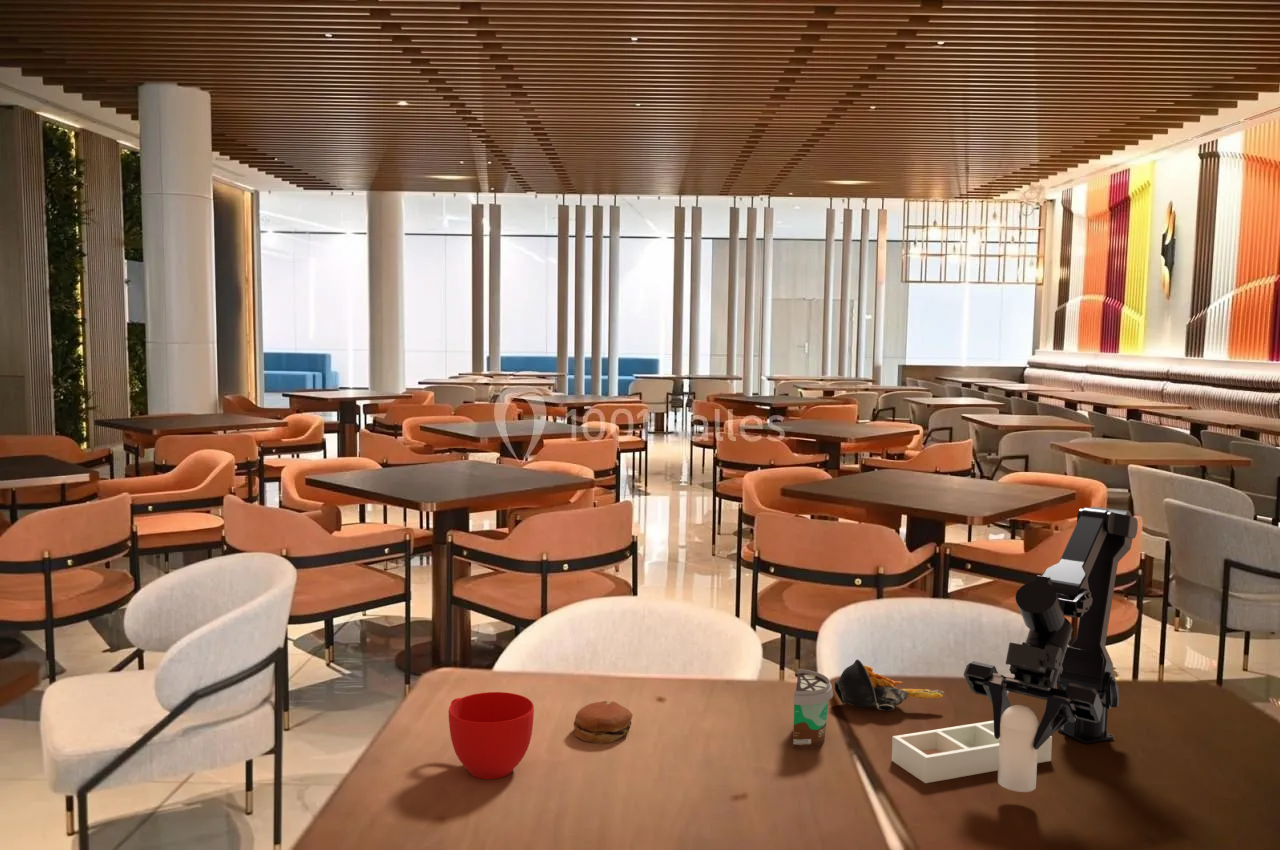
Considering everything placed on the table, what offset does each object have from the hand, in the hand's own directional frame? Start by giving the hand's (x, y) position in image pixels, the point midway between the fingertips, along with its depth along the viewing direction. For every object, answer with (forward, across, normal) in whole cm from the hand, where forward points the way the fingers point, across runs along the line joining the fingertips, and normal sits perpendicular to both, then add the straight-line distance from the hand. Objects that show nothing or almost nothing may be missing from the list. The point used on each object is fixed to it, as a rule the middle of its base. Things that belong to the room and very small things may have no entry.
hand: (1015, 742), depth 145 cm
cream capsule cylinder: (+4, 0, +6) cm, 7 cm away
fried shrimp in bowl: (-10, -31, +24) cm, 40 cm away
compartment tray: (-1, -10, +15) cm, 18 cm away
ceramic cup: (+36, -67, -22) cm, 79 cm away
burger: (+21, -62, -7) cm, 66 cm away
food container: (+6, -34, +8) cm, 35 cm away
